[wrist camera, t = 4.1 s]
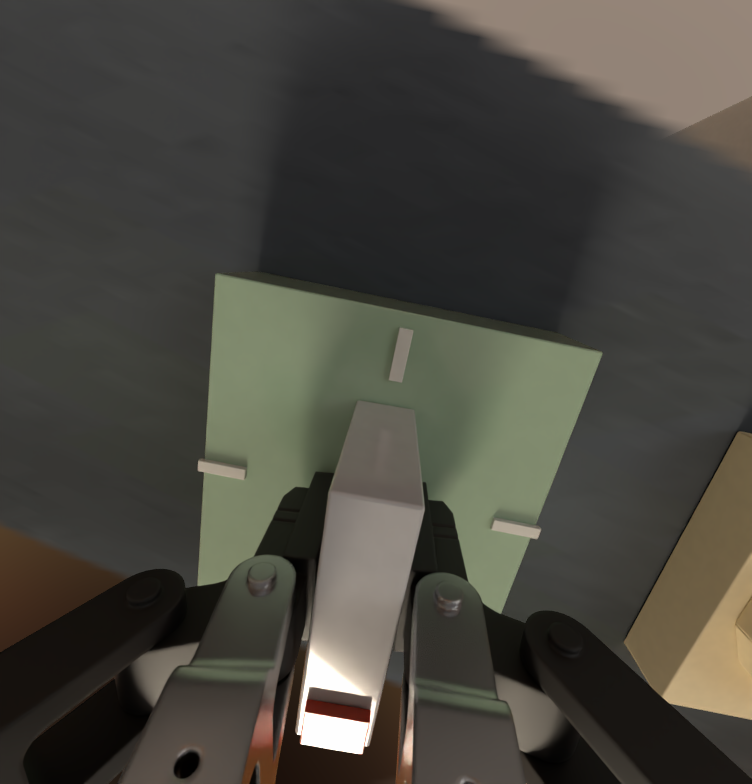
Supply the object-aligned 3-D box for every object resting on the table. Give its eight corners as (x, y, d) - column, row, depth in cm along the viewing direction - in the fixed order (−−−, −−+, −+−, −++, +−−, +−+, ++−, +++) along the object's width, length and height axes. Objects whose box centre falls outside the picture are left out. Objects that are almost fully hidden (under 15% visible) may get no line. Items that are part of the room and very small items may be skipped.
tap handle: (356, 399, 10) (325, 500, 6) (415, 409, 10) (427, 517, 6) (330, 573, 12) (291, 750, 8) (379, 582, 12) (368, 762, 8)
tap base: (253, 270, 13) (207, 271, 10) (561, 333, 13) (611, 354, 10) (229, 543, 16) (190, 607, 13) (470, 591, 16) (486, 666, 13)
